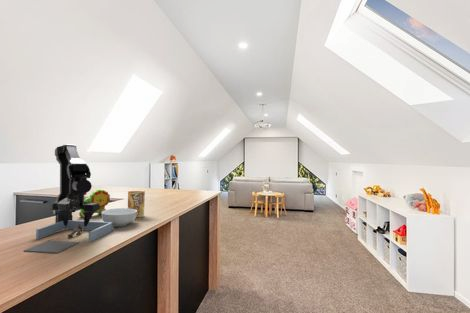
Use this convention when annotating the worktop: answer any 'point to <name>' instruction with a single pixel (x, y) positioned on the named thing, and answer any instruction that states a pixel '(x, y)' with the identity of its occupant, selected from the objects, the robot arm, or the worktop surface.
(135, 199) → the candy box
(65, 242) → the mat
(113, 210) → the cereal bowl
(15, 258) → the worktop surface
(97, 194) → the toy lion
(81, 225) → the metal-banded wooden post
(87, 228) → the open box
